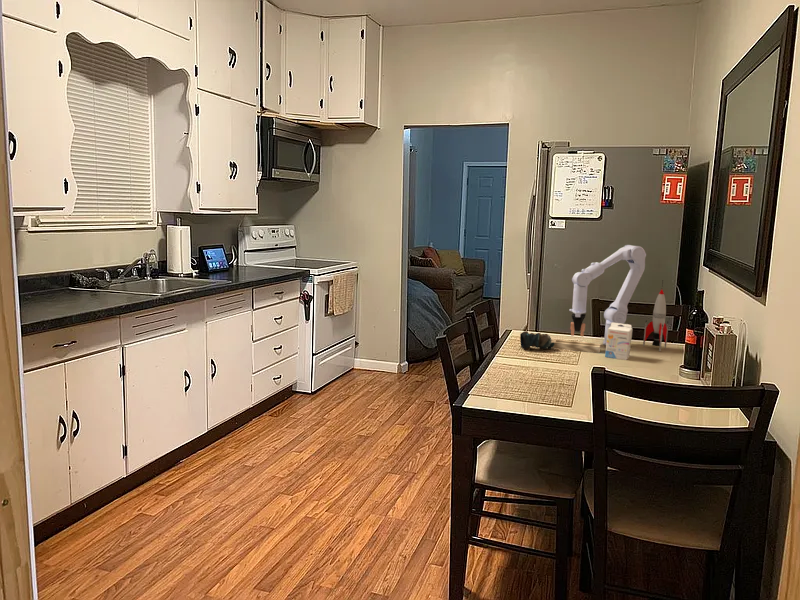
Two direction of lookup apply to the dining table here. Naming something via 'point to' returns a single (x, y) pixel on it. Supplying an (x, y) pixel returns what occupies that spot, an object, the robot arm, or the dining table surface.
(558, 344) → the rail
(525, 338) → the figurine
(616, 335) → the ink box
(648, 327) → the toy
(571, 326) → the tall salmon pink block
